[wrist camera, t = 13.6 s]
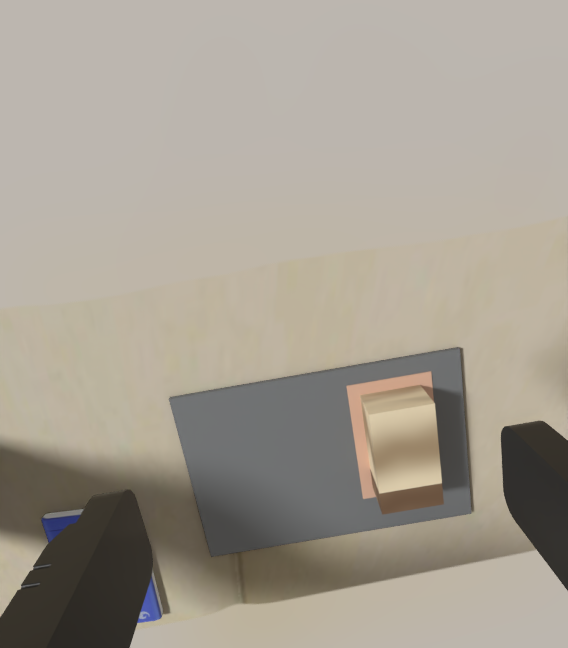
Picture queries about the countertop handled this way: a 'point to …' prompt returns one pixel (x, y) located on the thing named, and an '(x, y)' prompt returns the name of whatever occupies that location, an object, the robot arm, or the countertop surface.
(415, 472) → the beige rectangular block
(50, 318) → the countertop surface
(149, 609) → the hard drive
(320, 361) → the countertop surface
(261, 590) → the countertop surface
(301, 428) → the rubber mat
